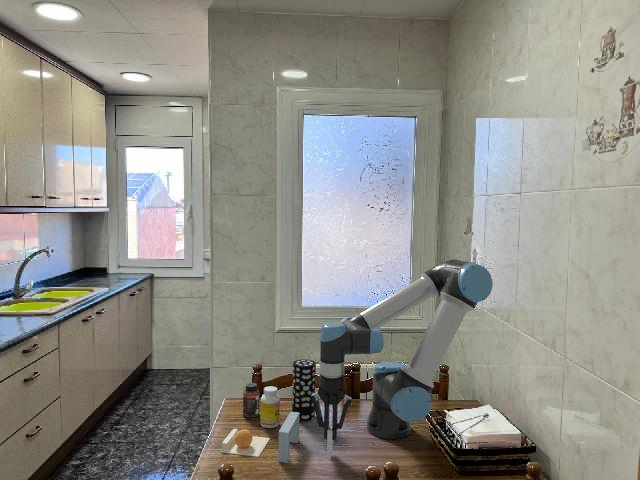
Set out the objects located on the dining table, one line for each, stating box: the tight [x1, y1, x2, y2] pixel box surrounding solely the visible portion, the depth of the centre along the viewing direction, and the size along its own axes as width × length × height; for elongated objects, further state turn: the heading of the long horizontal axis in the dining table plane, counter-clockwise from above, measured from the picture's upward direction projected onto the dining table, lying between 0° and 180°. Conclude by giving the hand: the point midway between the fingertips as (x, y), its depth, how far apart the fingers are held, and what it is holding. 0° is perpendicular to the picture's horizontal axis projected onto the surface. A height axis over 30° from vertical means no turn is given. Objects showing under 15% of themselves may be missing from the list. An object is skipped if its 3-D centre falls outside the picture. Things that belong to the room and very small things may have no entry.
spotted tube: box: [291, 358, 317, 422], centre depth 172 cm, size 8×8×20 cm
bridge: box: [277, 411, 300, 463], centre depth 148 cm, size 3×14×9 cm, turn 169°
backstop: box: [221, 428, 239, 451], centre depth 151 cm, size 2×10×2 cm, turn 170°
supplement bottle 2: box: [259, 385, 281, 429], centre depth 165 cm, size 7×7×13 cm
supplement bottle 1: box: [242, 382, 260, 419], centre depth 173 cm, size 6×6×11 cm
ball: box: [235, 428, 253, 448], centre depth 149 cm, size 6×6×6 cm
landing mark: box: [220, 435, 271, 458], centre depth 151 cm, size 12×12×1 cm
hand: (330, 449), depth 145 cm, fingers closed
